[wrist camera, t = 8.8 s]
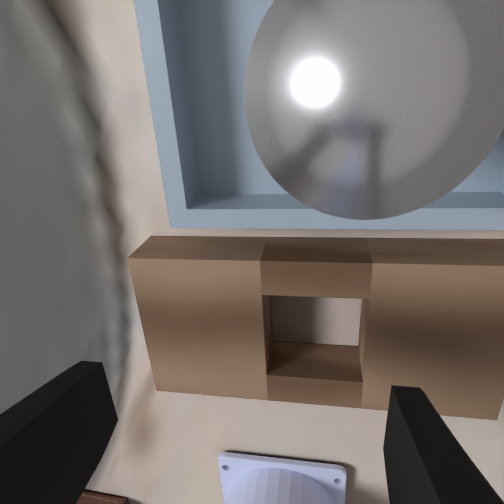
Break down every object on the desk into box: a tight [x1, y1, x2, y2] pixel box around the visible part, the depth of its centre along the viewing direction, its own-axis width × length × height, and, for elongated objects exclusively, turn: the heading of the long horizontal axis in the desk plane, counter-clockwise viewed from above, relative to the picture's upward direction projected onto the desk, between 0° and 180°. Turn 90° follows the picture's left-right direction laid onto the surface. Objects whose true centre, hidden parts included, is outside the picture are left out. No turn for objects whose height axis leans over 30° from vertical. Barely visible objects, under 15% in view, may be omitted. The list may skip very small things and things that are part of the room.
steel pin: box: [244, 0, 504, 220], centre depth 10 cm, size 4×4×8 cm
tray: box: [134, 0, 504, 230], centre depth 13 cm, size 11×14×2 cm
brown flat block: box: [127, 236, 504, 420], centre depth 18 cm, size 8×16×2 cm, turn 94°
